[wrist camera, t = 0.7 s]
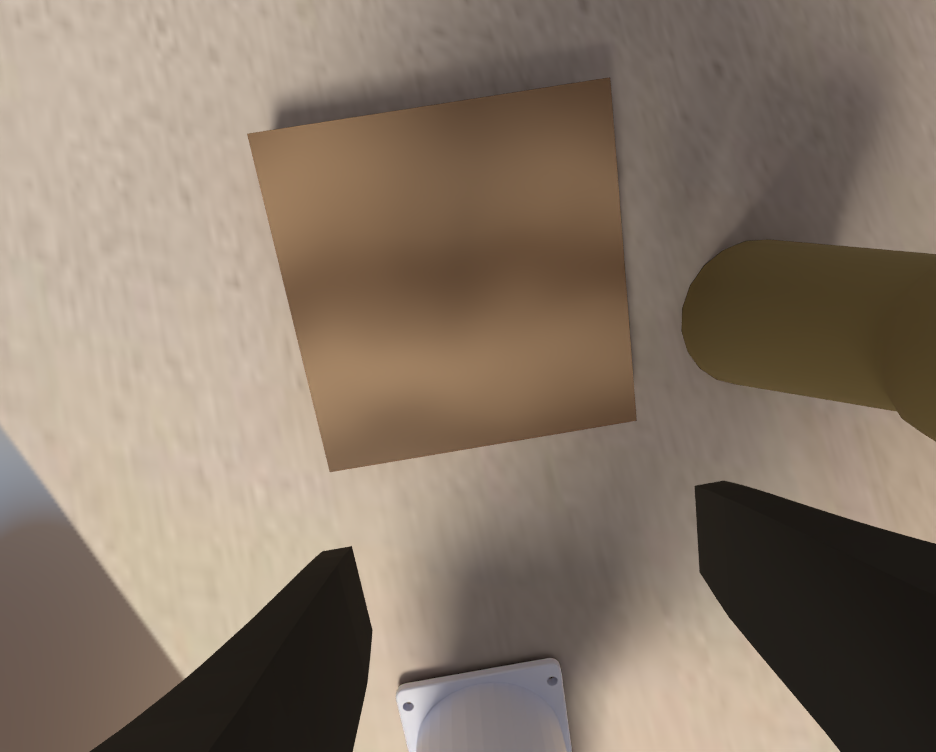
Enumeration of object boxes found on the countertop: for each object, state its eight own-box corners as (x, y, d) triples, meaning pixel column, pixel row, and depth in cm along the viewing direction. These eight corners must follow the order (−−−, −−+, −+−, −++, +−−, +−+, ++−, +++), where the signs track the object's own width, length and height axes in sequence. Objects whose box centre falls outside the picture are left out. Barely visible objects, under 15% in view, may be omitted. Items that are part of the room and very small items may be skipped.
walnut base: (617, 405, 20) (636, 420, 18) (341, 452, 19) (329, 472, 17) (590, 99, 17) (610, 77, 15) (270, 150, 17) (247, 133, 15)
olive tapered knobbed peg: (726, 214, 18) (1140, 126, 7) (849, 275, 19) (1383, 275, 8) (655, 353, 19) (925, 452, 8) (774, 404, 20) (1158, 556, 9)
